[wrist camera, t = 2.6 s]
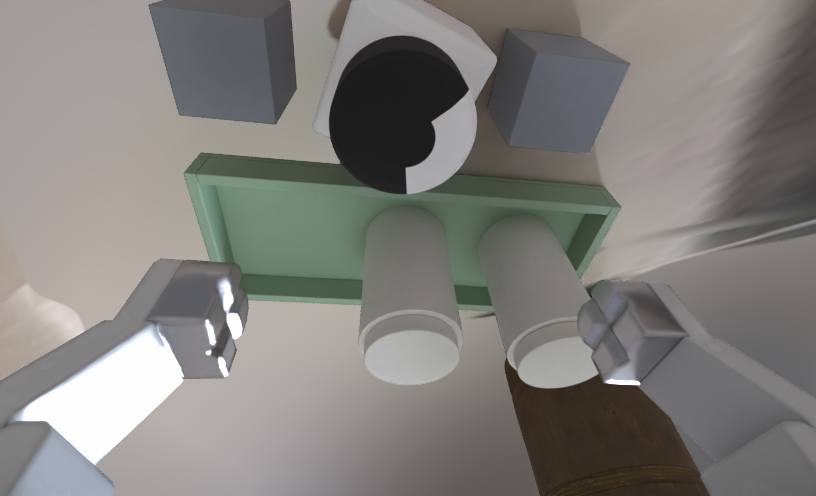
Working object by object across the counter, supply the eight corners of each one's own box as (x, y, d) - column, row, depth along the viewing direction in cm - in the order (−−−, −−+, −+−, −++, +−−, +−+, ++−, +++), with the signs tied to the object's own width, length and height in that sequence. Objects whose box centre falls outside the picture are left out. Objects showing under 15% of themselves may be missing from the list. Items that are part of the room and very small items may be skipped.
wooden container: (530, 399, 53) (595, 613, 37) (484, 351, 45) (540, 598, 28) (637, 363, 48) (769, 592, 32) (607, 302, 40) (764, 567, 23)
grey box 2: (583, 37, 23) (631, 63, 19) (554, 116, 27) (589, 154, 22) (507, 28, 23) (536, 52, 18) (486, 109, 26) (507, 146, 22)
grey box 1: (290, 0, 22) (263, 18, 17) (297, 89, 25) (276, 125, 20) (199, -12, 21) (147, 4, 16) (218, 81, 24) (178, 115, 20)
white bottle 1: (450, 208, 31) (477, 328, 21) (437, 268, 35) (454, 389, 26) (368, 202, 30) (358, 323, 21) (364, 264, 34) (355, 387, 25)
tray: (604, 186, 31) (622, 207, 28) (549, 291, 39) (560, 314, 36) (200, 152, 27) (182, 172, 25) (232, 274, 35) (221, 299, 33)
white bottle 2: (565, 217, 32) (639, 335, 22) (538, 274, 36) (590, 392, 27) (488, 211, 31) (531, 330, 22) (470, 270, 35) (499, 390, 26)
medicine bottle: (327, 88, 25) (291, 179, 16) (366, -33, 21) (348, -6, 12) (422, 131, 27) (440, 233, 18) (474, 29, 23) (532, 92, 14)
